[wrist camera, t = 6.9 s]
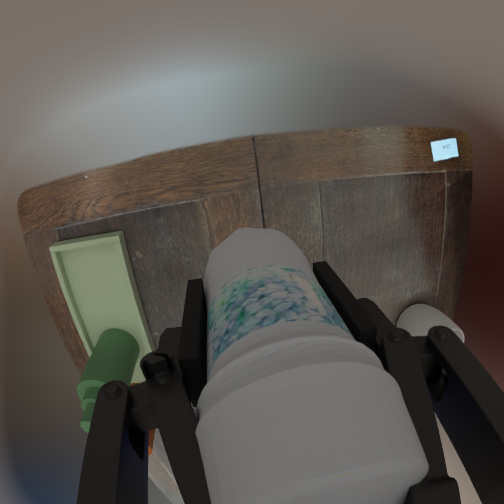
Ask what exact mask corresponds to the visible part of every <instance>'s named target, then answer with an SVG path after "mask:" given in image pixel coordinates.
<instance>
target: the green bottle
mask: <svg viewBox="0 0 504 504" xmlns="http://www.w3.org/2000/svg"><path fill="white" fill-rule="evenodd" d="M138 355H139V345H138V342H137V341H136V339H135V338H134V337H133V336H132V335H131V334H129V333H128V332H126V331H124V330H121V329H117V328H111V329H107V330H105V331H104V332H103V333H102V334H101V335H100V337H99V339H98V341H97V344H96V346H95V348H94V350H93V352H92V354H91V356H90V359H89V361H88V363H87V365H86V367H85V370H84V372H83V374H82V376H81V379H80V381H79V384H78V386H77V393H78V396H79V397H80V399H81V401H82V402H81V406H82V409H83V410H84V414H83V417H82V420H81V423H80V426H81V428H82V429H83V430H84V431H86V432H88V433H89V428H90V424H91V419H92V415H93V410H94V406H95V402H96V398H97V394H98V391H99V389H100V388H101V387H102V386H103V385H104V384H105V383H107V382H109V381H114V380H119V381H122V382H125V383H126V385H127V386H128V387H129V386H130V384H131V380H132V377H133V373H134V369H135V366H136V362H137V359H138Z"/></svg>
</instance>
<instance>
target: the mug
mask: <svg viewBox="0 0 504 504" xmlns="http://www.w3.org/2000/svg"><path fill="white" fill-rule="evenodd" d="M439 325H440V326H446V327H448V328H450V329H451V330H452V331H454V333H455V334H456V335H457V336H458V337H459V338H460V339H461V341H462V342H463V343H464V334H463V332H462V330H461V329H460V328H459V327H458V326H457V325H456V324H455V323H454V322H453V321H452V320H451V319H449V318H448V317H447V316H446V315H444V314H443V313H442V312H440V311H439V310H437V309H435V308H433V307H431V306H429V305H426V304H415V305H412V306H410V307H408V308H406V309H405V310H404V311H403V312H402V314H401V315H400V317H399V319H398V321H397V325H396V328H402V329H405V330H407V331H408V332H409V333H410V334H411V336H427V334H428V330H429V329H430V328H431V327H434V326H439Z"/></svg>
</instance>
